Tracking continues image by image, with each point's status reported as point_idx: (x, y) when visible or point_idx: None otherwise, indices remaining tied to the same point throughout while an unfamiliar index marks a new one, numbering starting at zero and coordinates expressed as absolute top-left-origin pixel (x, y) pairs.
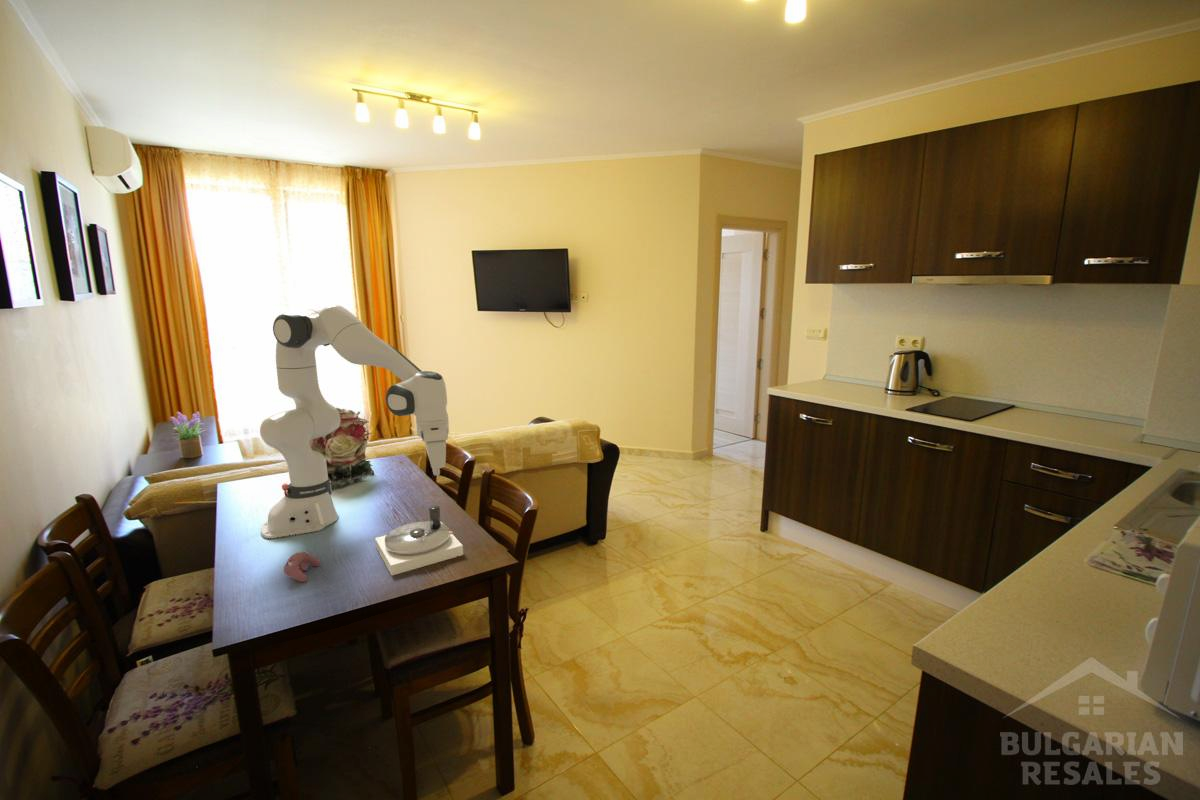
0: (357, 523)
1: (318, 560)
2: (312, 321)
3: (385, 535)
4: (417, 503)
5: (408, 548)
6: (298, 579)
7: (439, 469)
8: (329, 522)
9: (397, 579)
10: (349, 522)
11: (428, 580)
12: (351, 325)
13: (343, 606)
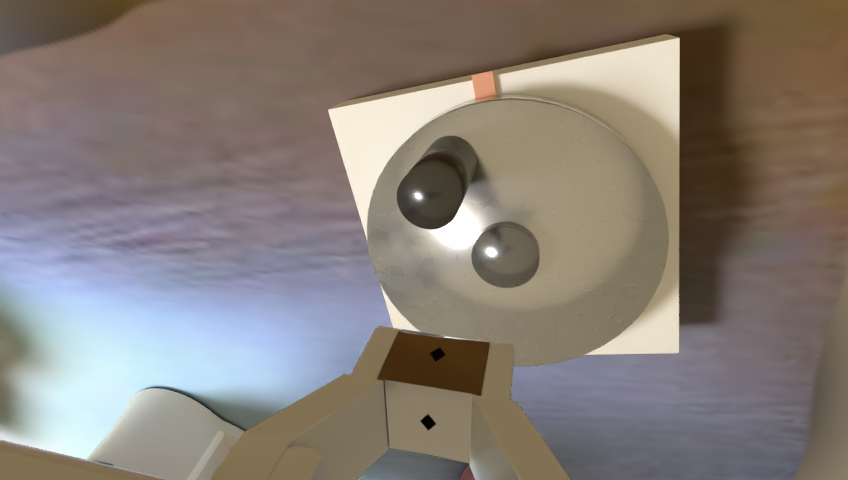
0: (215, 353)
1: (471, 478)
2: None
3: (394, 327)
4: (65, 161)
5: (643, 306)
6: None
7: (508, 396)
8: (207, 415)
9: (713, 314)
10: (204, 369)
11: (816, 220)
12: None
13: (784, 457)
